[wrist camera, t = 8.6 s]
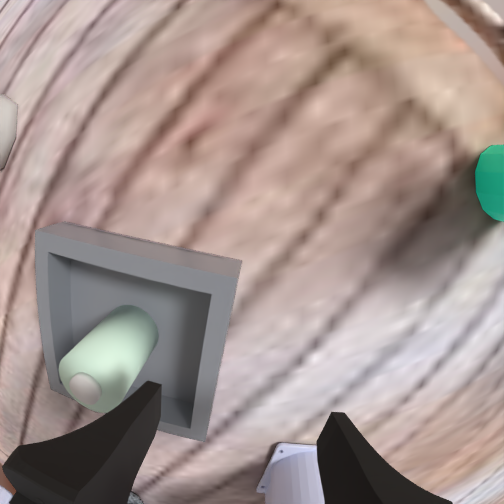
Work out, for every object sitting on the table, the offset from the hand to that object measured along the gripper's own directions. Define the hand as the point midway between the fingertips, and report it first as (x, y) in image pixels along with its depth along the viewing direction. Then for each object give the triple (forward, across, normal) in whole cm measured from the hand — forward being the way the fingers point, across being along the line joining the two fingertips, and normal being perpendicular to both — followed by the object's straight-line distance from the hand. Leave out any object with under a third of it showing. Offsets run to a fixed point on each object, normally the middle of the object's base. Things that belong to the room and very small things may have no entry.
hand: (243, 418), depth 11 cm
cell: (+9, +8, +2) cm, 12 cm away
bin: (+9, +8, +2) cm, 13 cm away
